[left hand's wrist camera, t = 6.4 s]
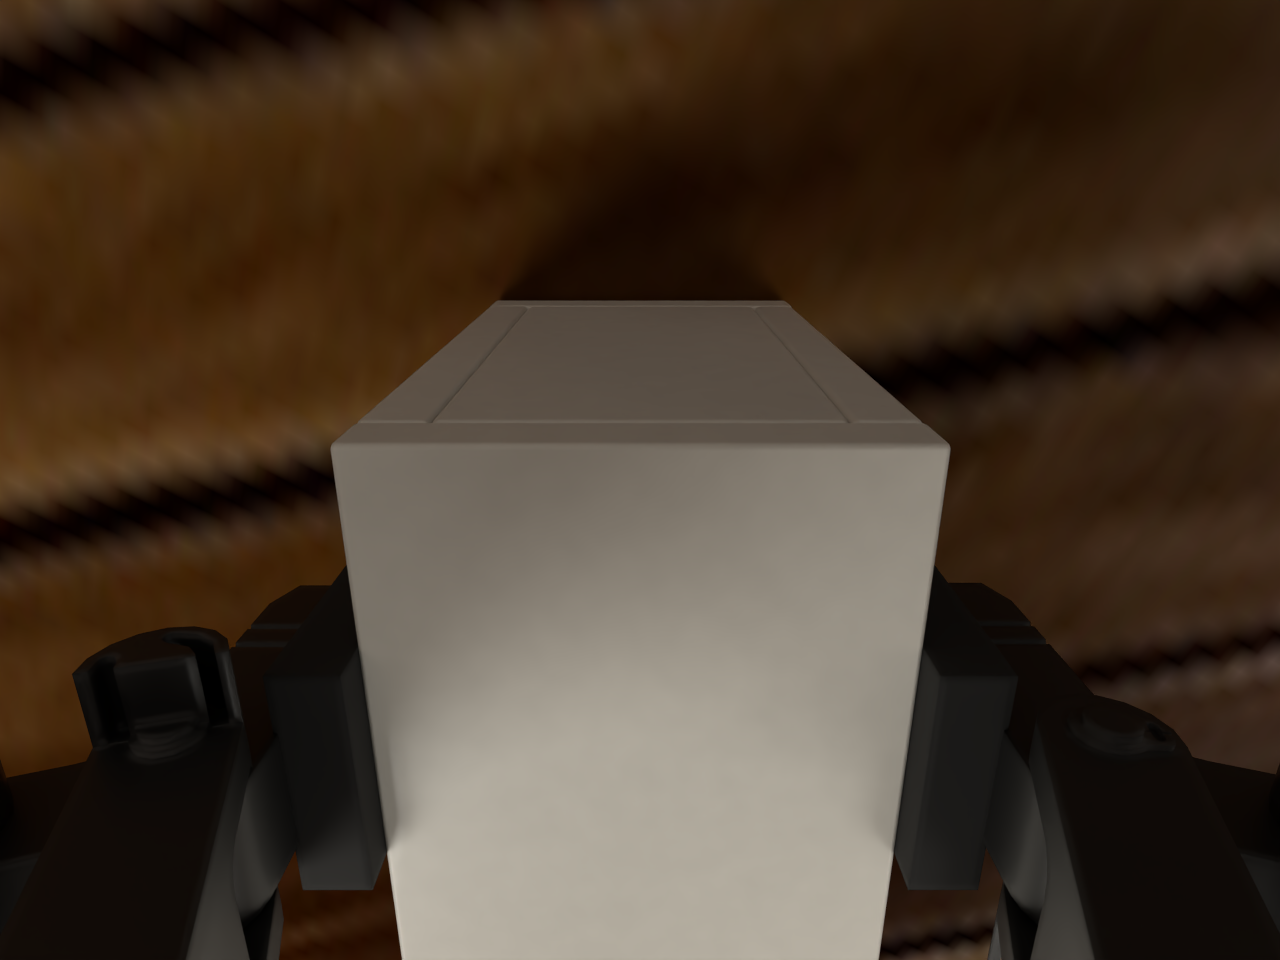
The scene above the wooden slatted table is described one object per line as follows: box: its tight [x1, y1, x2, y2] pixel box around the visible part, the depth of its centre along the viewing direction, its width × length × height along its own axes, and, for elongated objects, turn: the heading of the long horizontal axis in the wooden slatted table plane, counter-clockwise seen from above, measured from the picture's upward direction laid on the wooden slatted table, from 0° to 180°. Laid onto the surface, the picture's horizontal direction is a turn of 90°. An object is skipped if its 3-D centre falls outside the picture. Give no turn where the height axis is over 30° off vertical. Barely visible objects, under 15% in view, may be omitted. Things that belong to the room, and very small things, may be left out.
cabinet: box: [331, 301, 950, 960], centre depth 16 cm, size 22×6×9 cm, turn 0°
